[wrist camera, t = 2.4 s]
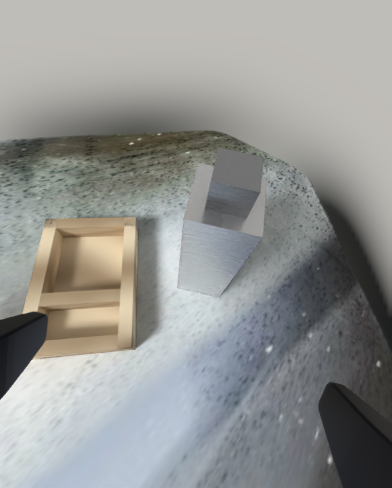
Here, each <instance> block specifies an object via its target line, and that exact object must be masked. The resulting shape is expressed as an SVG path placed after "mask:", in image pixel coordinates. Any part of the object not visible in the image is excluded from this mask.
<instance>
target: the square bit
mask: <svg viewBox="0 0 392 488" xmlns="http://www.w3.org/2000/svg"><path fill="white" fill-rule="evenodd" d="M262 170H263V158H262V157H258V156H253V155H249V154H245V153H240V152H236V151H231V150H227V149H222V148H218V152H217V156H216V161H215V165H214V166H209V165H205V164H200V163H199V165H198V169H197V172H196V176H195V180H194V183H193V187H192V190H191V194H190V197H189V201H188V204H187V208H186V212H185V215H184V219H183V229H182V240H181V251H180V262H179V273H178V284H177V288H179V289H184V290H188V291H192V292H197V293H201V294H205V295H210V296H214V297H219V296H220V295H221V294H222V292H223V291H224V290H225V288H226V287H227V286H228V284H229V283H230V281H231V280H232V279H233V277H234V276H235V275H236V273H237V272H238V271H239V269H240V268H241V267H242V265H243V264H244V262H245V261H246V260H247V258H248V257H249V256H250V254H251V253H252V252H253V250H254V249H255V247H256V246H257V245H258V243H259V242H260V241H261V239H262V238H263V230H264V216H265V201H266V186H267V178H262Z"/></svg>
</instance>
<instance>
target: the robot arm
mask: <svg viewBox="0 0 392 488" xmlns="http://www.w3.org/2000/svg"><path fill="white" fill-rule="evenodd" d="M47 326H48V316H47V315H46V314H44V313H40V312H36V311H32V312H29V313H25V314H21V315H17V316H14V317H10V318H6V319H2V320H0V400H1V398H2V397H3V396H4V395H5V394H6V393H7V391H8V390H9V389H10V388H11V386H12V385H13V384H14V382H15V381H16V380H17V378H18V377H19V376H20V375H21V373H22V372H23V371H24V369H25V368H26V367H27V365H28V364H29V363H30V361H31V360H32V359H33V357H34V356H35V355H36V354H37V352H38V351H39V350H40V348H41V347H42V346H43V344H44V342H45V340H46V336H47ZM319 413H320V416H321V420H322V423H323V426H324V430H325V433H326V437H327V440H328V443H329V447H330V450H331V453H332V457H333V460H334V463H335V467H336V470H337V473H338V476H339V478H340V481H341V484H342V487H343V488H392V423H391V422H390V421H389V420H388V419H386V418H385V417H384V416H383V415H381V414H380V413H379V412H377V411H376V410H375V409H374V408H372V407H371V406H370V405H368V404H367V403H366V402H365V401H363V400H362V399H361V398H359V397H358V396H357V395H356V394H354V393H353V392H352V391H351V390H349V389H348V388H347V387H345V386H344V385H342V384H337V383H333V382H329V383H328V384H327V385H326V387H325V389H324V392H323V394H322V396H321V398H320V401H319Z"/></svg>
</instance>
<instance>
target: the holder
mask: <svg viewBox="0 0 392 488" xmlns="http://www.w3.org/2000/svg"><path fill="white" fill-rule="evenodd" d="M137 264H138V225H137V221H136V217H116V218H68V219H46V221H45V225H44V229H43V233H42V237H41V241H40V245H39V249H38V253H37V257H36V261H35V265H34V269H33V273H32V277H31V281H30V285H29V289H28V293H27V297H26V301H25V305H24V309H23V313H22V314H25V313H29V312H32V311H36V312H40V313H44V314H46V315H47V316H48V326H47V336H46V340H45V342H44V344H43V346H42V347H41V348H40V350H39V351H38V352H37V354H36V355H35V356H34V357H33V359H41V358H51V357H62V356H72V355H82V354H93V353H103V352H113V351H124V350H134V349H135V342H136V303H137Z"/></svg>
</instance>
